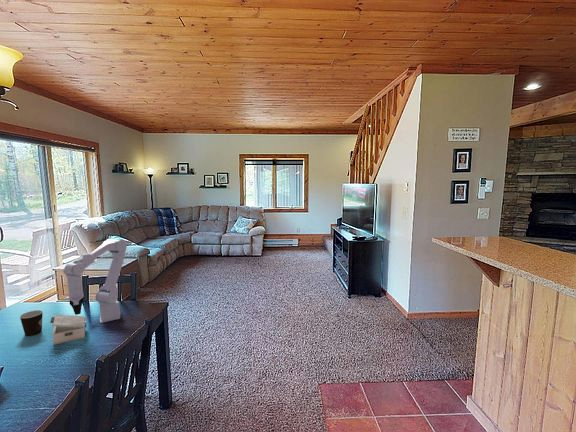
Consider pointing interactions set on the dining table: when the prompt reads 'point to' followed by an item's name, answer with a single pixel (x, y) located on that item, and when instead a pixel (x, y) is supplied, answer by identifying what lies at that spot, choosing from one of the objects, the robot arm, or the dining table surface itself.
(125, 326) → the dining table surface
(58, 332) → the white box
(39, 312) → the coffee mug
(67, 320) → the lid
